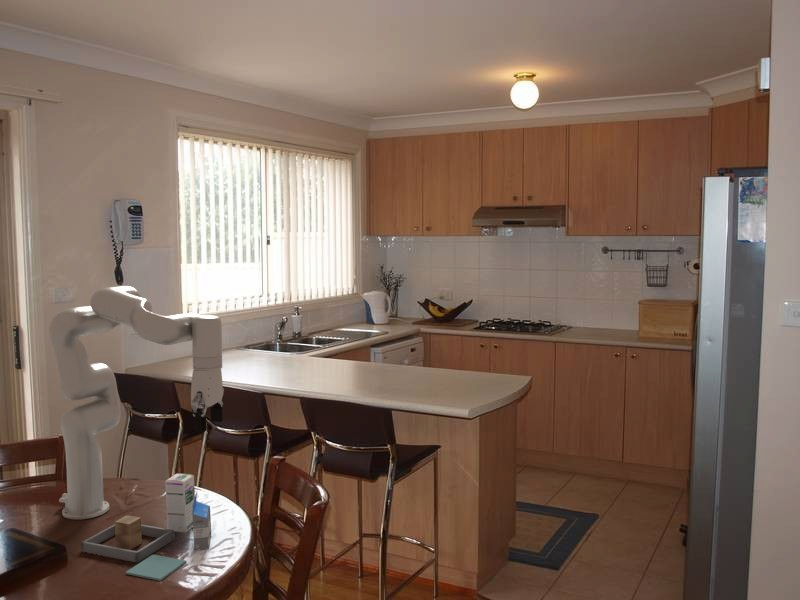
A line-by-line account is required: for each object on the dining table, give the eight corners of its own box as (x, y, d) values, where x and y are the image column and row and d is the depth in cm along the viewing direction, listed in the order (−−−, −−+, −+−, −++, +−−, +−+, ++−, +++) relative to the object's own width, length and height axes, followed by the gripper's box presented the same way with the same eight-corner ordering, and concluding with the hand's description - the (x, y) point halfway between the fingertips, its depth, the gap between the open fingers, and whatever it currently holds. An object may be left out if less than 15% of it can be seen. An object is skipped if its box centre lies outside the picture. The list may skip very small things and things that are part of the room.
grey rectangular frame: (81, 551, 184) (81, 542, 183) (121, 529, 197) (120, 520, 197) (137, 562, 178) (137, 552, 178) (174, 539, 191) (173, 530, 191)
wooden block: (115, 547, 186) (114, 521, 185) (127, 540, 190) (126, 515, 190) (130, 550, 185) (129, 524, 184) (141, 543, 189) (141, 517, 188)
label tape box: (209, 549, 185) (208, 503, 184) (192, 550, 185) (191, 504, 183) (211, 535, 194) (210, 491, 193) (196, 536, 193) (195, 492, 192)
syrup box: (186, 533, 195) (185, 481, 194) (166, 531, 196) (164, 479, 195) (196, 524, 201) (195, 474, 199) (176, 522, 202) (175, 472, 201)
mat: (125, 573, 172) (125, 571, 172) (153, 556, 181) (153, 554, 181) (160, 580, 169) (160, 578, 169) (186, 562, 178) (186, 560, 178)
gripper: (208, 356, 198) (209, 417, 200) (178, 368, 182) (180, 434, 183) (234, 357, 197) (235, 418, 199) (206, 369, 180) (207, 436, 182)
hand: (208, 426), depth 191 cm, fingers open, 9 cm apart
